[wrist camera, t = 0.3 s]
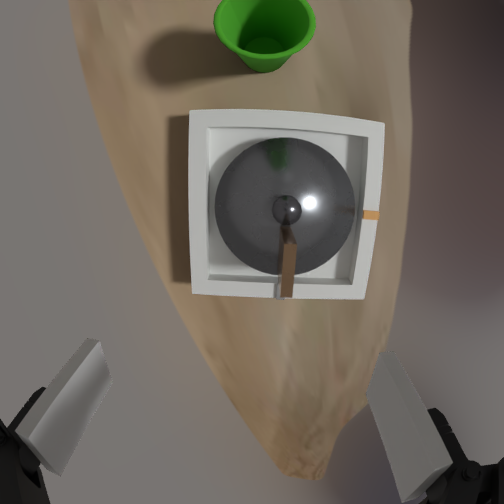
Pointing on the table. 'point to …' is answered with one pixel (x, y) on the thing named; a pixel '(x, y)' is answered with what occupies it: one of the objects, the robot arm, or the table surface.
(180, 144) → the table surface
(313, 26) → the cup
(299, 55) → the table surface
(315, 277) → the white square tray
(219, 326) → the table surface
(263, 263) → the dial
